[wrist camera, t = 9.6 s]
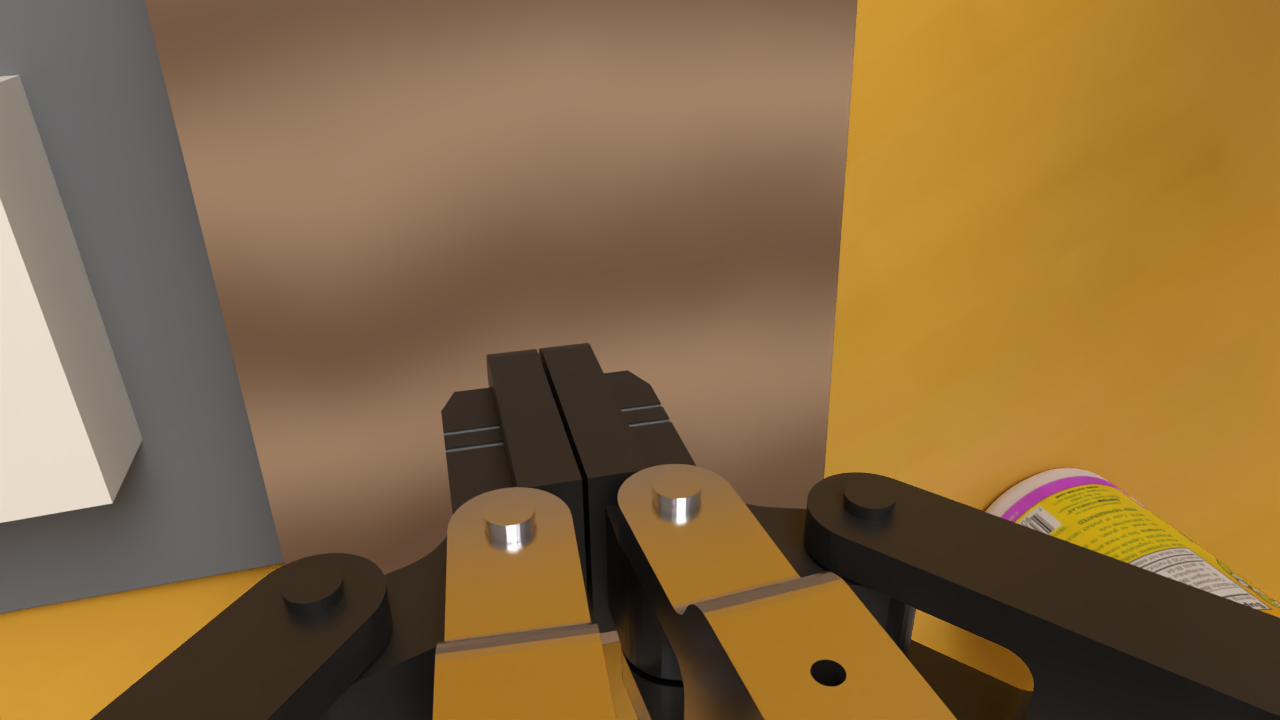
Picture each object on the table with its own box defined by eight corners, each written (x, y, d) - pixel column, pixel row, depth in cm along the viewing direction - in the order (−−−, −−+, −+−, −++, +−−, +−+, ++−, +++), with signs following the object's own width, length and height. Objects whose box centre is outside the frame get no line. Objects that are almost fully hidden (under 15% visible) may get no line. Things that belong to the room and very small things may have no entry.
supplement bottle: (1103, 576, 36) (1438, 868, 24) (955, 628, 35) (1234, 957, 23) (1116, 437, 33) (1506, 696, 21) (954, 489, 32) (1274, 791, 20)
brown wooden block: (122, -286, 17) (59, -344, 14) (793, -272, 20) (879, -316, 17) (326, 605, 27) (319, 704, 23) (763, 522, 30) (815, 599, 26)
